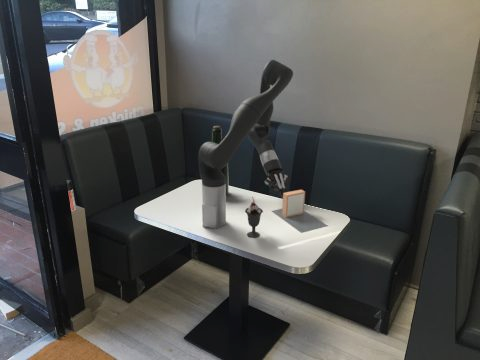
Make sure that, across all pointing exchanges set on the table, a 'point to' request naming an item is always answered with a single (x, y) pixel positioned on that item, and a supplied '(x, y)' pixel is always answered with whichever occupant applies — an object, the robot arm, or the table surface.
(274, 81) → the robot arm
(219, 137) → the beer bottle
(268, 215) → the table surface
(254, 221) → the sundae
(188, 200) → the table surface
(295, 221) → the slate board
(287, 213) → the terracotta brick
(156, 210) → the table surface
